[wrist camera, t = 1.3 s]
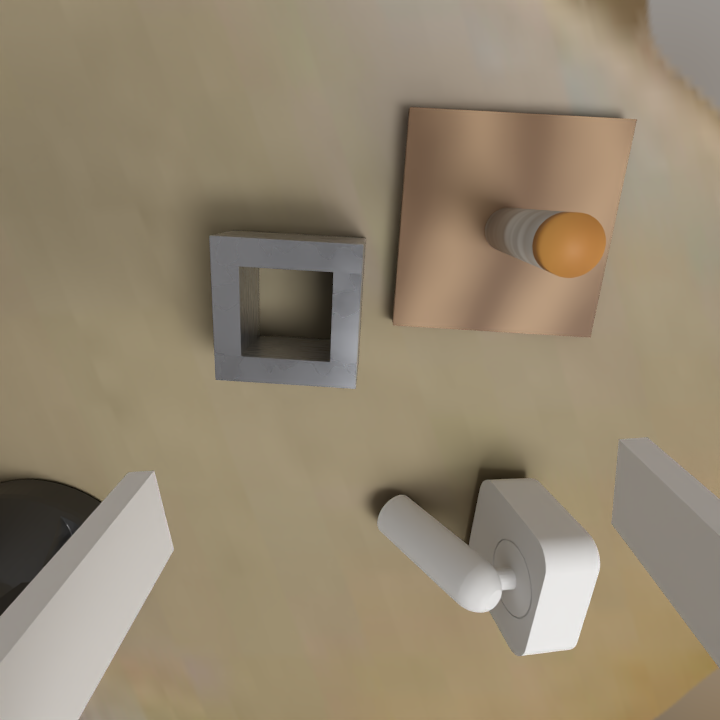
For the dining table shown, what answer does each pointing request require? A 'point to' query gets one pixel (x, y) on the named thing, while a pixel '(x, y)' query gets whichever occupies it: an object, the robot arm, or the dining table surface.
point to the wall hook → (507, 561)
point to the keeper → (507, 219)
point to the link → (241, 309)
